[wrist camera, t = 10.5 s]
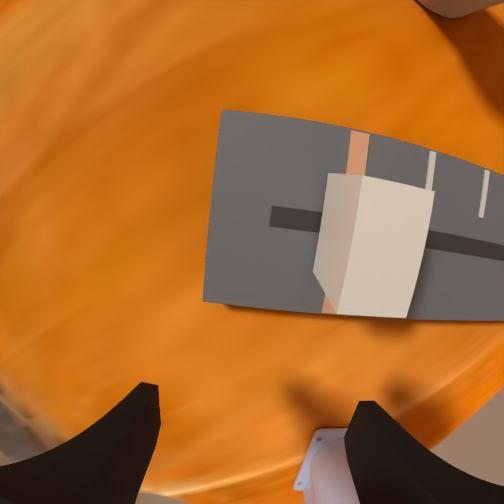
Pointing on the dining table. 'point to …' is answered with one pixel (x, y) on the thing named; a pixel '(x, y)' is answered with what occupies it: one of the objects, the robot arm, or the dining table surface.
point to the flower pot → (457, 6)
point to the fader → (371, 244)
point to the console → (311, 208)
